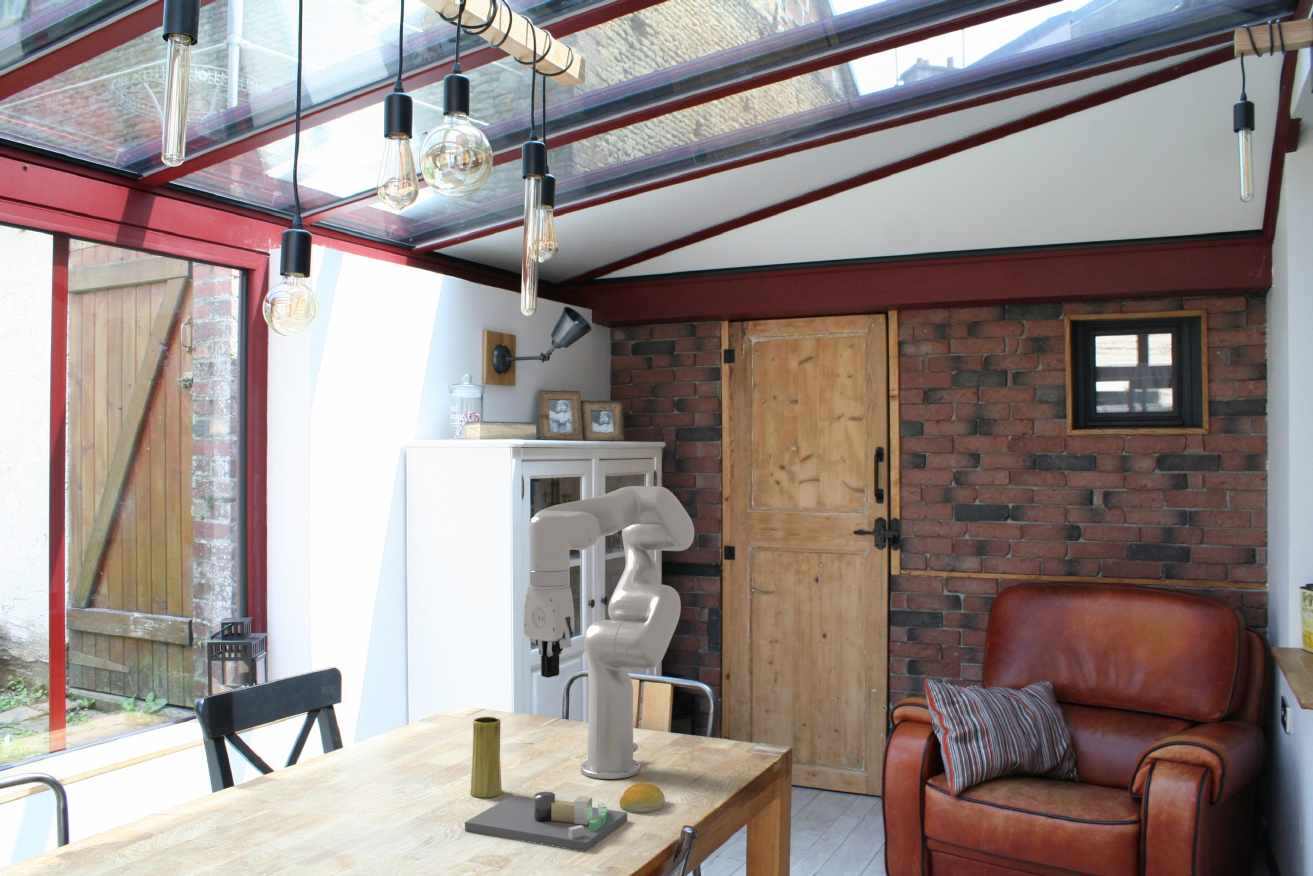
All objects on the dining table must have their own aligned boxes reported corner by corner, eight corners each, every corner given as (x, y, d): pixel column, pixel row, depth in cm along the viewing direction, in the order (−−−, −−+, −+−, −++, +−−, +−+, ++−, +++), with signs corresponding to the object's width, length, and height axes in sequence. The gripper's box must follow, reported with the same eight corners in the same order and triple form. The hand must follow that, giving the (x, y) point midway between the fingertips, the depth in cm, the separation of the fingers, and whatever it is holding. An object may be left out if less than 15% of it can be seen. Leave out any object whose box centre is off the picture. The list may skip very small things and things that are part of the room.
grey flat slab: (512, 803, 187) (513, 787, 187) (627, 821, 177) (627, 804, 177) (464, 830, 172) (465, 813, 172) (586, 851, 163) (586, 833, 163)
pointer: (531, 820, 173) (531, 797, 173) (539, 813, 176) (539, 791, 176) (586, 826, 170) (586, 802, 170) (593, 819, 173) (593, 796, 173)
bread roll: (616, 813, 182) (616, 792, 182) (626, 798, 191) (626, 777, 191) (659, 816, 180) (659, 794, 181) (668, 801, 189) (668, 779, 189)
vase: (495, 799, 189) (495, 724, 190) (465, 797, 190) (466, 722, 191) (506, 789, 195) (506, 717, 196) (477, 787, 196) (478, 715, 197)
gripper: (509, 578, 189) (509, 673, 189) (561, 584, 179) (561, 685, 179) (539, 574, 195) (539, 667, 195) (591, 580, 185) (591, 678, 184)
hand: (550, 675), depth 187 cm, fingers closed
